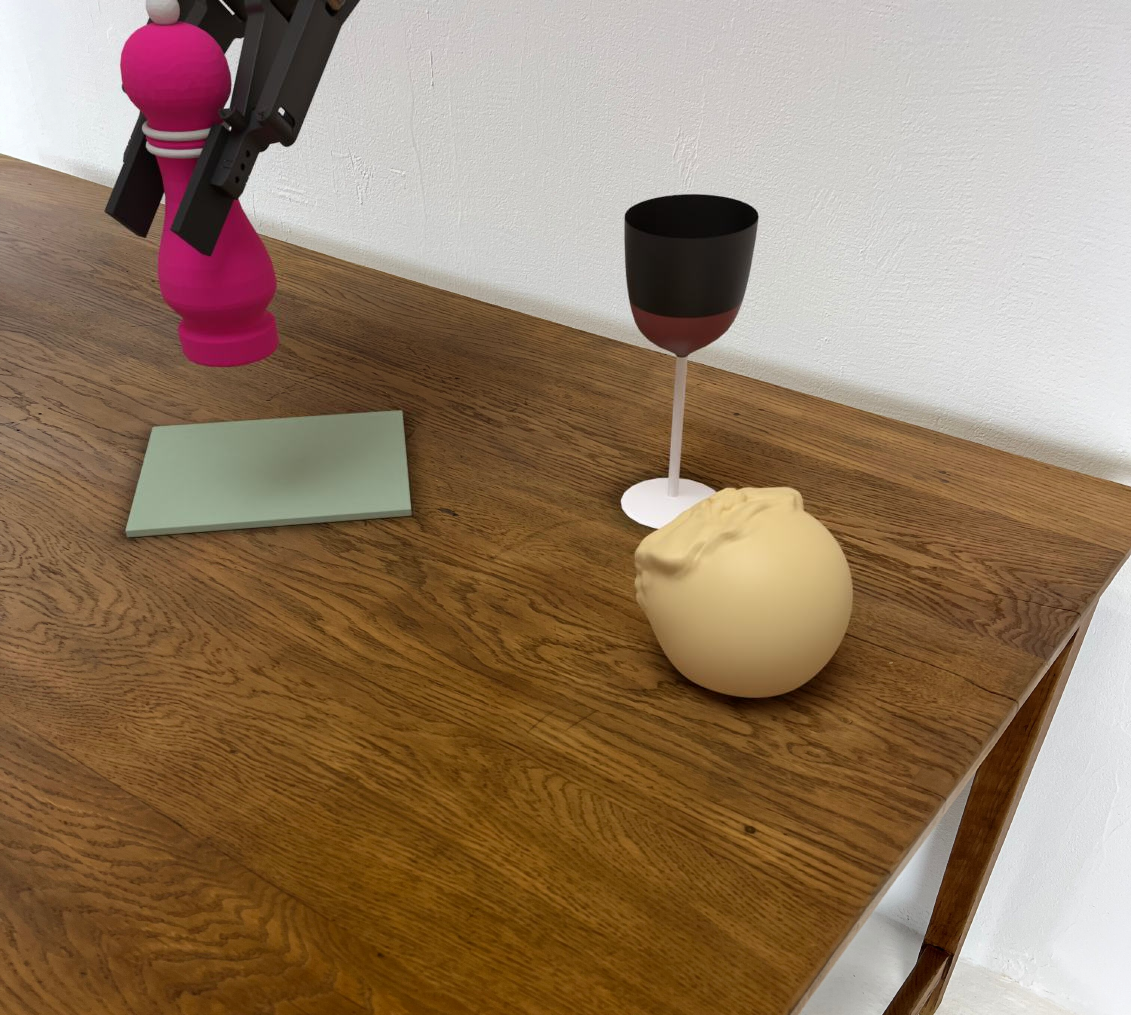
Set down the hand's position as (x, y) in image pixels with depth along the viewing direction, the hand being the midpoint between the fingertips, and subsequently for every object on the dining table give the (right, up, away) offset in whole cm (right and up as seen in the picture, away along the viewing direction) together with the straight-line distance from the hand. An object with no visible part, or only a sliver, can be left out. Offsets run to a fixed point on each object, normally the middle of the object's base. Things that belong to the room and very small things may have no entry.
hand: (157, 233), depth 68 cm
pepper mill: (+2, -4, +8) cm, 9 cm away
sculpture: (+35, -25, +2) cm, 43 cm away
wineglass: (+32, -13, +16) cm, 38 cm away
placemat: (+2, -9, +20) cm, 22 cm away
